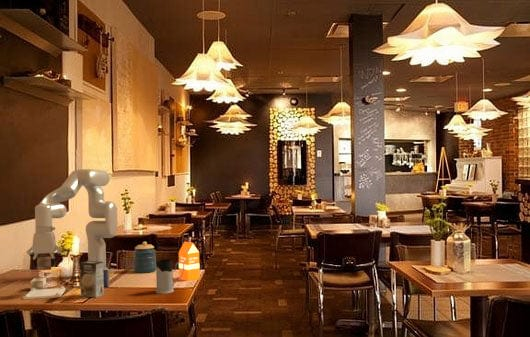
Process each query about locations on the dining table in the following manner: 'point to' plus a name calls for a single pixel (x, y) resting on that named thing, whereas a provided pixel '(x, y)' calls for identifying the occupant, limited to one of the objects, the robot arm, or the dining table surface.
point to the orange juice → (189, 262)
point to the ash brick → (38, 283)
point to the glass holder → (165, 276)
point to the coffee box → (92, 279)
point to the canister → (144, 258)
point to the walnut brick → (44, 263)
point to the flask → (106, 277)
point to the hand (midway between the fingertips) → (44, 266)
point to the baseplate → (44, 293)
